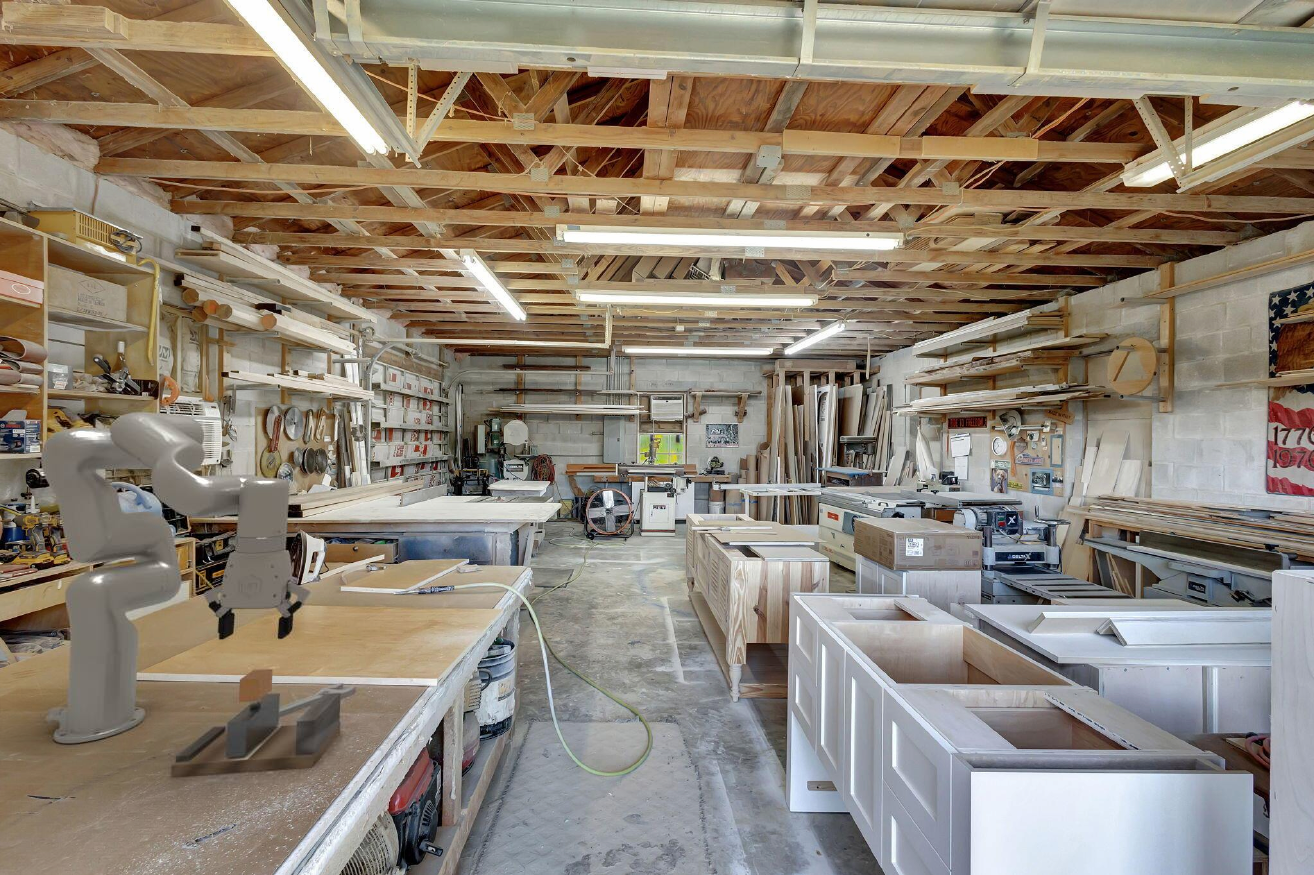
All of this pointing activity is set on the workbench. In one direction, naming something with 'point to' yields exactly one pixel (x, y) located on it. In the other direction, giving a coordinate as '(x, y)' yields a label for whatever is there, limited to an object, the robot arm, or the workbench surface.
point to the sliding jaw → (253, 713)
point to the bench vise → (266, 745)
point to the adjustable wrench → (315, 698)
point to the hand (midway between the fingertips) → (255, 636)
